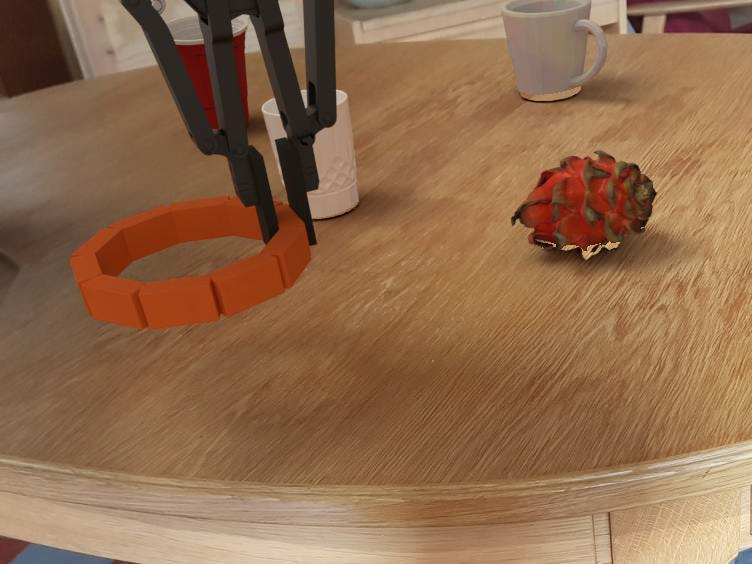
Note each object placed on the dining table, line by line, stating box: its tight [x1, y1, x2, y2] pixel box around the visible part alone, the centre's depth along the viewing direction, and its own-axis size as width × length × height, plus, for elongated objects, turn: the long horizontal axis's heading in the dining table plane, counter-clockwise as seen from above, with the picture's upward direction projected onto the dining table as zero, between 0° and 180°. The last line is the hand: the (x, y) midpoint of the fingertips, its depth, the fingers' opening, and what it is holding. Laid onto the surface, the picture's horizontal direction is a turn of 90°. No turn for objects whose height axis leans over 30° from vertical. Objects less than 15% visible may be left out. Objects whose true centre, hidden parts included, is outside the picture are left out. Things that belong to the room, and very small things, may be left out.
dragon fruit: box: [510, 149, 658, 251], centre depth 77 cm, size 8×8×12 cm
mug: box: [500, 0, 609, 95], centre depth 110 cm, size 10×15×10 cm
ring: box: [69, 194, 312, 331], centre depth 62 cm, size 15×15×2 cm
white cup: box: [261, 89, 360, 218], centre depth 89 cm, size 8×8×10 cm
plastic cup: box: [165, 14, 250, 130], centre depth 112 cm, size 11×11×12 cm
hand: (290, 242), depth 64 cm, fingers closed on ring, 2 cm apart
